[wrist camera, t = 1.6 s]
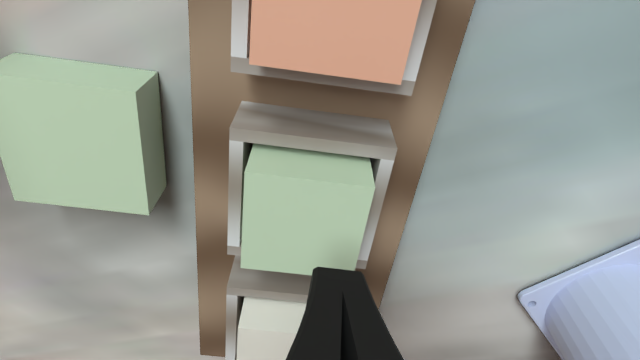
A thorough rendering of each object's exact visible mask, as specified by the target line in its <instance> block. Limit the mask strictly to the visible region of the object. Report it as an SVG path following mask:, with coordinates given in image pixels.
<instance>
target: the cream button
mask: <svg viewBox="0 0 640 360" xmlns="http://www.w3.org/2000/svg"><path fill="white" fill-rule="evenodd" d="M305 308H306V303H305V302H295V301H285V300H275V299H265V298H255V297H244V302H243V306H242V311H241V316H240V320H239V325H238V337H237V360H286V357H287V355H288V353H289V351H290V348H291V346H292V344H293V341H294V339H295V337H296V334H297V332H298V329H299V326H300V323H301V321H302V318H303V315H304V312H305Z"/></svg>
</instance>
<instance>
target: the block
mask: <svg viewBox="0 0 640 360" xmlns="http://www.w3.org/2000/svg"><path fill="white" fill-rule="evenodd" d="M0 157H1V160H2V163H3V166H4V170H5V173H6V176H7V179H8V182H9V185H10V188H11V191H12V194H13V197H14V200H16V201H25V202H34V203H43V204H52V205H61V206H70V207H79V208H88V209H97V210H106V211H115V212H124V213H133V214H142V215H150V213H151V211H152V210H153V208H154V206H155V205H156V203H157V201H158V199H159V198H160V196H161V194H162V193H163V191H164V189H165V188H166V186H167V183H166V171H165V158H164V145H163V132H162V120H161V107H160V94H159V81H158V72H156V71H148V70H141V69H133V68H126V67H118V66H111V65H103V64H96V63H88V62H81V61H73V60H66V59H58V58H51V57H43V56H35V55H28V54H20V53H13V54H11V55H9V56H6V57H4V58H2V59H0Z"/></svg>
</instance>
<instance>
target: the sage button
mask: <svg viewBox="0 0 640 360" xmlns="http://www.w3.org/2000/svg"><path fill="white" fill-rule="evenodd" d="M374 191H375V183H374V178H373V172H372V167H371V162H370V158H369V157H361V156H353V155H345V154H336V153H328V152H320V151H312V150H304V149H296V148H288V147H280V146H272V145H264V144H256V143H254V144H253V147H252V150H251V153H250V156H249V159H248V163H247V166H246V169H245V172H244V196H243V219H242V243H241V267H240V268H245V269H255V270H264V271H274V272H283V273H293V274H302V275H312V272H313V269H314V268H316V267H325V268H334V269H343V270H352V271H355V267H356V263H357V259H358V255H359V251H360V247H361V243H362V239H363V235H364V231H365V227H366V223H367V219H368V215H369V211H370V207H371V203H372V199H373V195H374Z"/></svg>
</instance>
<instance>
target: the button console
mask: <svg viewBox="0 0 640 360" xmlns="http://www.w3.org/2000/svg"><path fill="white" fill-rule="evenodd" d="M474 3H475V0H422V2H421V6H420V10H419V14H418V18H417V22H416V26H415V30H414V34H413V38H412V42H411V46H410V50H409V54H408V58H407V62H406V66H405V70H404V74H403V78H402V82H401V85H397V84H390V83H382V82H375V81H368V80H360V79H353V78H346V77H338V76H331V75H324V74H316V73H309V72H302V71H294V70H287V69H280V68H272V67H265V66H257V65H250V64H249V54H250V30H251V7H252V0H188V10H189V39H190V68H191V97H192V125H193V154H194V183H195V212H196V240H197V269H198V298H199V327H200V355H210V356H221V357H225V360H237V337H238V325H239V320H240V316H241V311H242V306H243V302H244V297H255V298H265V299H275V300H285V301H295V302H305V303H307V298H308V293H309V288H310V282H311V277H312V275H302V274H293V273H283V272H274V271H264V270H255V269H245V268H240V267H241V243H242V219H243V196H244V172H245V169H246V166H247V163H248V159H249V156H250V153H251V150H252V147H253V144H254V143H256V144H264V145H272V146H280V147H288V148H296V149H304V150H312V151H320V152H328V153H336V154H345V155H353V156H361V157H369V158H370V162H371V167H372V172H373V178H374V183H375V191H374V195H373V199H372V203H371V207H370V211H369V215H368V219H367V223H366V227H365V231H364V235H363V239H362V243H361V247H360V251H359V255H358V259H357V263H356V267H355V271H361V272H362V273H363V274H364V277H365V279H366V282H367V285H368V287H369V290H370V292H371V294H372V297H373V299H374V301H375V304H376V306H377V308H378V309H379V306H380V303H381V300H382V297H383V293H384V290H385V287H386V284H387V281H388V277H389V274H390V271H391V268H392V265H393V262H394V258H395V255H396V252H397V249H398V246H399V242H400V239H401V236H402V233H403V230H404V226H405V223H406V220H407V217H408V214H409V210H410V207H411V204H412V201H413V198H414V195H415V191H416V188H417V185H418V182H419V179H420V175H421V172H422V169H423V166H424V163H425V159H426V156H427V153H428V150H429V147H430V143H431V140H432V137H433V134H434V131H435V127H436V124H437V121H438V118H439V115H440V112H441V108H442V105H443V102H444V99H445V96H446V92H447V89H448V86H449V83H450V80H451V76H452V73H453V70H454V67H455V64H456V60H457V57H458V54H459V51H460V48H461V45H462V41H463V38H464V35H465V32H466V29H467V25H468V22H469V19H470V16H471V13H472V9H473V6H474Z"/></svg>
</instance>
